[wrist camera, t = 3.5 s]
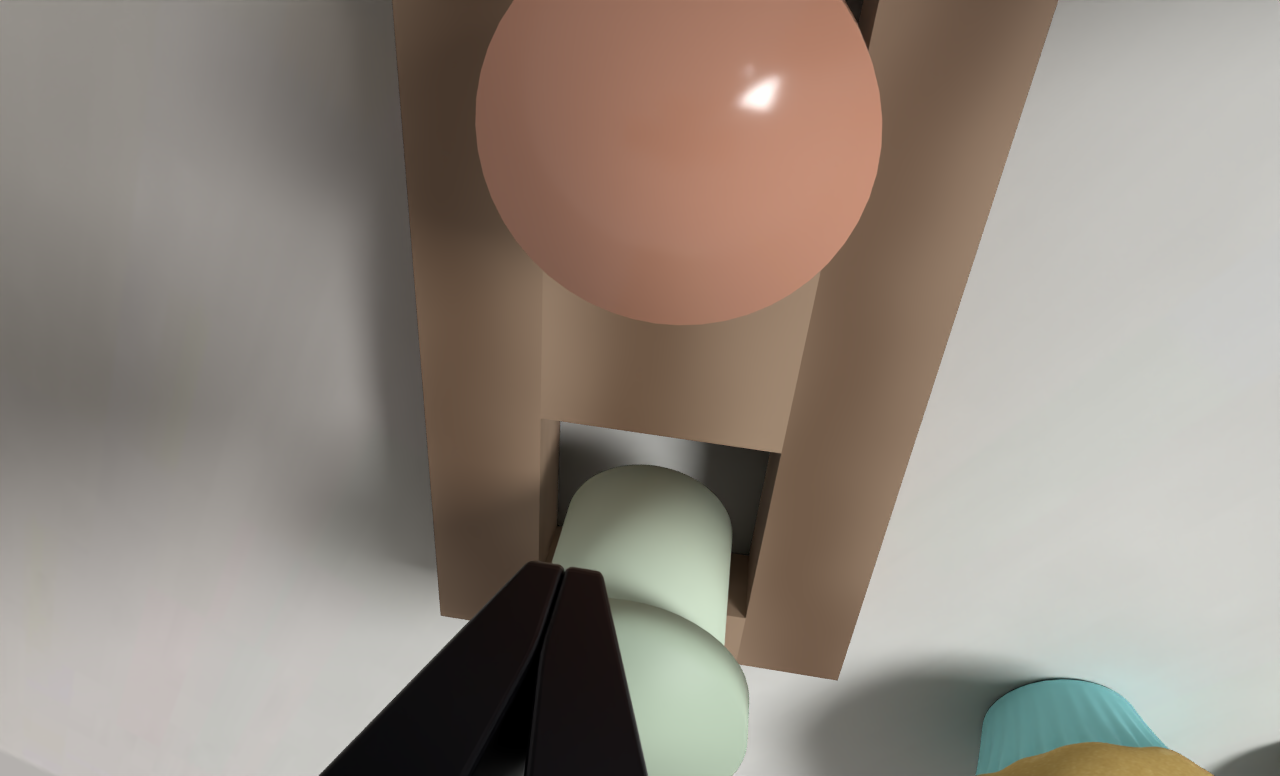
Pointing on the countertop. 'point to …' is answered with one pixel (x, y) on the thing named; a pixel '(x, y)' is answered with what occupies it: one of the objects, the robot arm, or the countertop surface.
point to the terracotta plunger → (679, 147)
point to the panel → (709, 329)
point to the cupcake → (1073, 735)
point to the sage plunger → (666, 611)
